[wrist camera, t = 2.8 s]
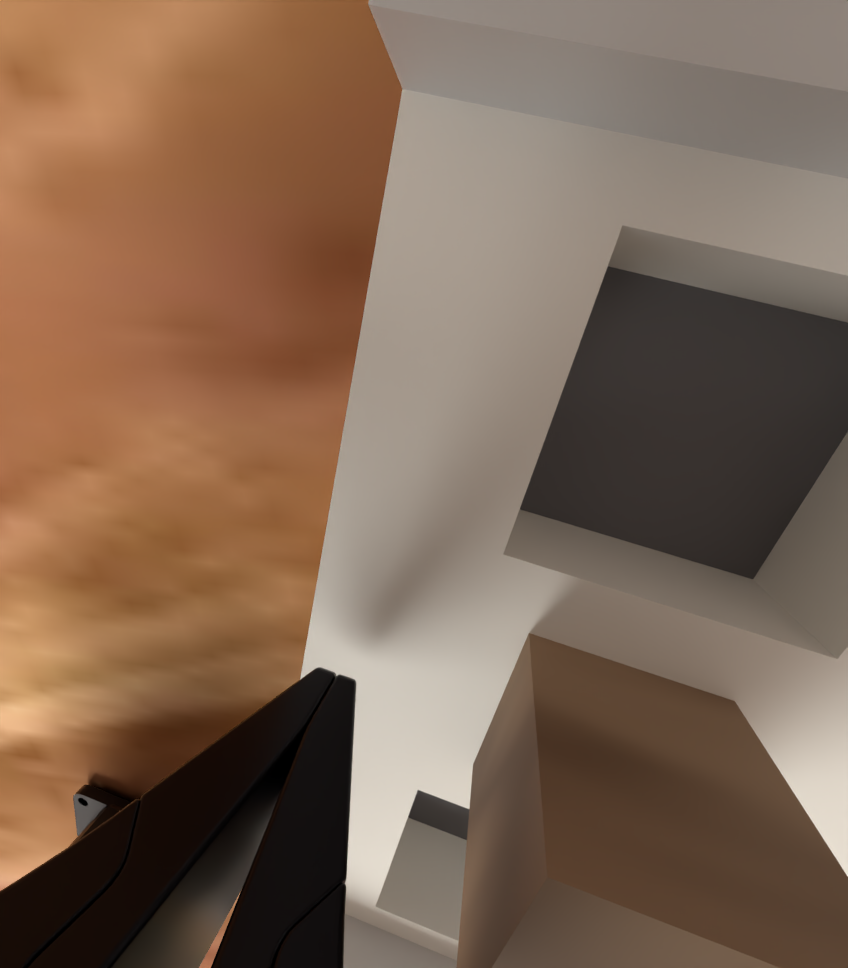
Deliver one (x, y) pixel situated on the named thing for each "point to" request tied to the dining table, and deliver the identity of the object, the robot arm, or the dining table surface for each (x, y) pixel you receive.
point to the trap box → (590, 405)
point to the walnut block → (637, 831)
